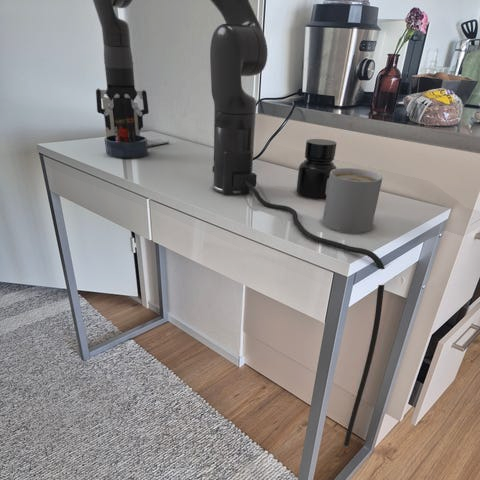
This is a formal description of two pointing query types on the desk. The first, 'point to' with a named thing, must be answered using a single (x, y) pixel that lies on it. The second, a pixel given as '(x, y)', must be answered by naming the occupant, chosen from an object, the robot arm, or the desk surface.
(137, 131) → the laptop
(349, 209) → the coffee mug
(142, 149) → the bowl
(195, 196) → the desk surface
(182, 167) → the desk surface
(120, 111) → the deodorant
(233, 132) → the robot arm
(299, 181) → the ink bottle
